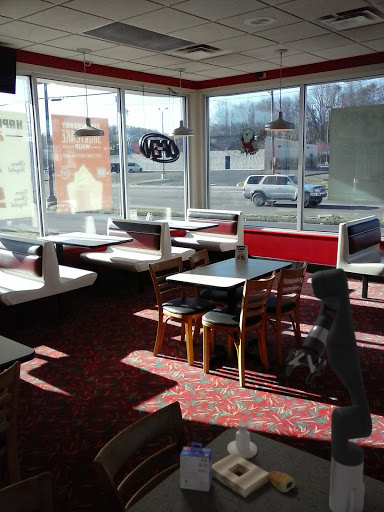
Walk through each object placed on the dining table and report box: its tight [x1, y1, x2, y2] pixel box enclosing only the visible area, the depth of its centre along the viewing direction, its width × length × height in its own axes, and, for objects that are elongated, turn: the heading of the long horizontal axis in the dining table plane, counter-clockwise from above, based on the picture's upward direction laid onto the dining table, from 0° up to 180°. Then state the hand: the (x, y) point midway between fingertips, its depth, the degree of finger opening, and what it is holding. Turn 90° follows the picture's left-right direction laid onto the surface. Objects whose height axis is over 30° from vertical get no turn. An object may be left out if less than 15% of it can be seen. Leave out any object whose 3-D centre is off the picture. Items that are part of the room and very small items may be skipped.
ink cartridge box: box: [179, 441, 213, 492], centre depth 162 cm, size 10×6×14 cm, turn 78°
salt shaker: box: [235, 421, 251, 451], centre depth 182 cm, size 4×4×10 cm
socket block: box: [212, 453, 270, 498], centre depth 167 cm, size 16×12×3 cm
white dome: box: [226, 439, 258, 460], centre depth 183 cm, size 11×11×1 cm
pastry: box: [268, 470, 296, 493], centre depth 164 cm, size 9×7×4 cm
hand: (296, 379), depth 175 cm, fingers open, 8 cm apart
